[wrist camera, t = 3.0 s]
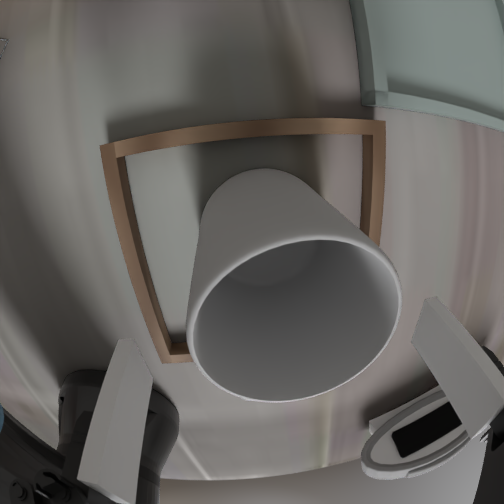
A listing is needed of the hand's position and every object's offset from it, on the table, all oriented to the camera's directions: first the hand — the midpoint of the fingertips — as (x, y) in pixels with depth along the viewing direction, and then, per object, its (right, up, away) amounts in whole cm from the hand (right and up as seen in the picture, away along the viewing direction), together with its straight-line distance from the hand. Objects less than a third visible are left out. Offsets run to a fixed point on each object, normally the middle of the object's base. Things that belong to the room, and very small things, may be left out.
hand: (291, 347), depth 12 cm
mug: (-1, +4, +9) cm, 10 cm away
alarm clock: (+25, -21, +24) cm, 40 cm away
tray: (+15, +23, +1) cm, 28 cm away
